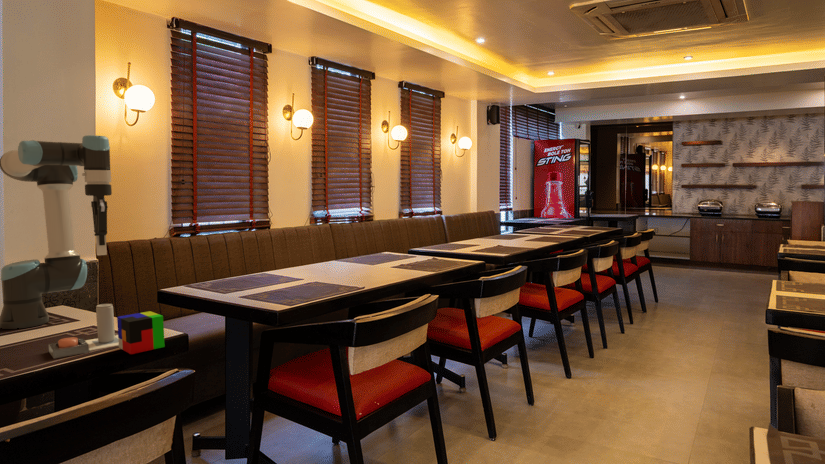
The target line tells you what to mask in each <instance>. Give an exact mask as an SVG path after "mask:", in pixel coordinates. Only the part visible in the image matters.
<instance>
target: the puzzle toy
mask: <svg viewBox="0 0 825 464" xmlns="http://www.w3.org/2000/svg"><path fill="white" fill-rule="evenodd" d="M116 321H117V322H116V323H117V335H118V341H119V346H118V348H119V349H121V350H123V351H124V352H126V353H127V354H129V355H136V354H139V353H143V352H149V351H152V350H156V349H157V350H158V349H161V348H165V347H166V345H165V331H164V329H165V327H164V326H165V325H164V316H163V315H162V314H159V313H156V312H154V311H150V310H149V311H144V312H136V313H132V314H126V315H120V316H117V317H116Z"/></svg>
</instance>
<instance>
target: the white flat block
mask: <svg viewBox="0 0 825 464" xmlns="http://www.w3.org/2000/svg"><path fill="white" fill-rule="evenodd" d="M84 340H85V339H84ZM85 341H86V342H87V343H88V346H89V352H91V351H97V350H101V349H102V350H104V349H107V348H113V347H114V348H115V347H119V341H118V334H115V340H114V341H112V342H109V343H100V342H99V341H98V337H97V338H93V339H86V340H85Z"/></svg>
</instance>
